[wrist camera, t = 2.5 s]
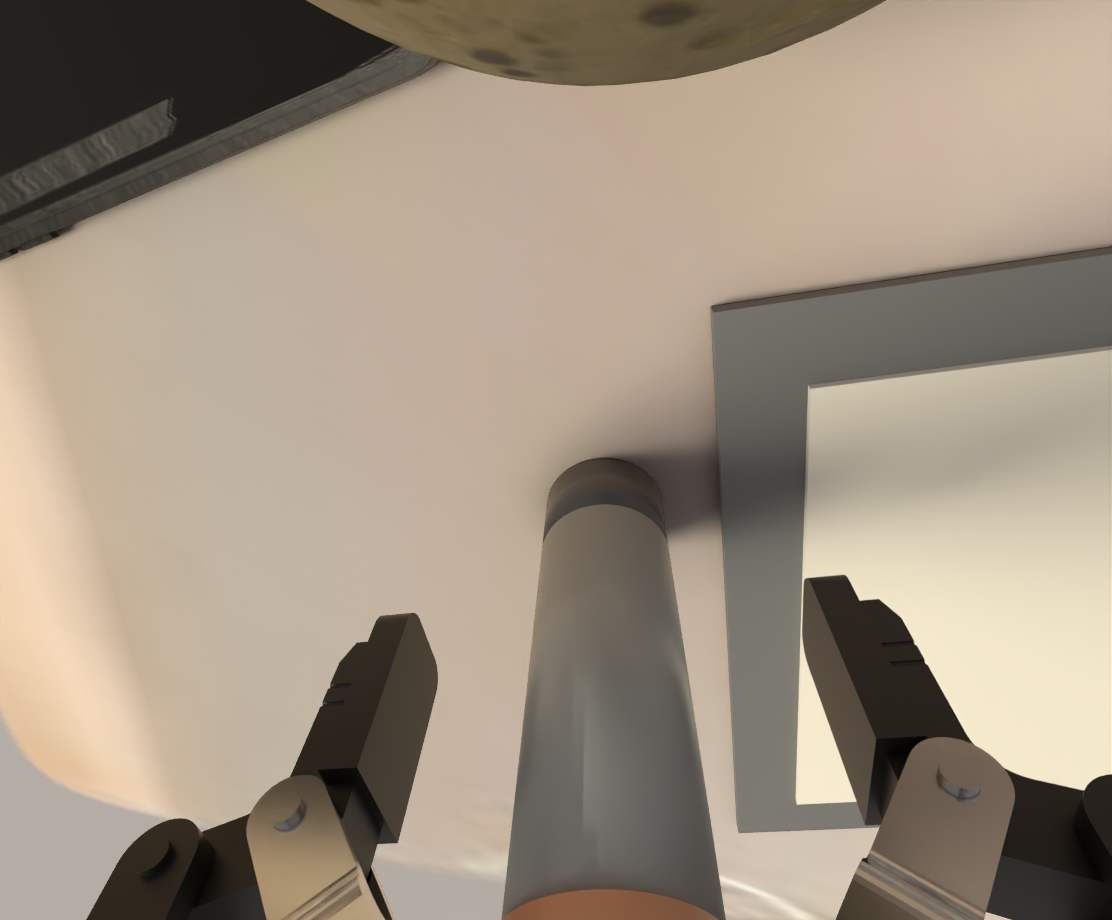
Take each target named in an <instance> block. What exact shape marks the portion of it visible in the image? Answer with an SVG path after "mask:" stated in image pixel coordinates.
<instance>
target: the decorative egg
mask: <svg viewBox="0 0 1112 920" xmlns="http://www.w3.org/2000/svg"><path fill="white" fill-rule="evenodd" d="M307 1H309V2H310V3H312V4H314V5H316V6H317V7H319V8H321V9H323V10H324V11H326V12H328V13H330V14H332V15H334V16H336V17H338V18H340V19H342V20H344V21H346V22H348V23H350V24H352V25H353V26H355V27H357V28H359V29H361V30H363V31H366V32H368V33H370V34H373V35H375V36H377V37H379V38H382V39H384V40H386V41H389V42H391V43H393V44H396V45H398V46H400V47H402V48H405V49H407V50H409V51H412V52H415V53H418V54H421V55H424V56H427V57H430V58H434V59H437V60H440V61H443V62H446V63H450V64H453V65H456V66H459V67H462V68H466V69H469V70H473V71H477V72H481V73H486V74H490V75H494V76H499V77H504V78H509V79H514V80H521V81H530V82H539V83H548V84H559V85H576V86H598V85H621V84H631V83H640V82H650V81H659V80H668V79H676V78H681V77H686V76H690V75H695V74H699V73H704V72H709V71H713V70H717V69H721V68H724V67H728V66H731V65H734V64H738V63H741V62H744V61H748V60H751V59H754V58H758V57H761V56H764V55H768V54H771V53H773V52H776V51H778V50H780V49H783V48H785V47H788V46H790V45H793V44H795V43H798V42H800V41H802V40H805V39H807V38H810V37H812V36H815V35H817V34H820V33H822V32H824V31H827V30H829V29H832V28H834V27H836V26H838V25H840V24H842V23H844V22H846V21H848V20H850V19H852V18H854V17H856V16H858V15H860V14H862V13H864V12H865V11H867V10H869V9H871V8H873V7H875V6H876V5H878V4H880V3H882V2H884V1H886V0H307Z"/></svg>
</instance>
